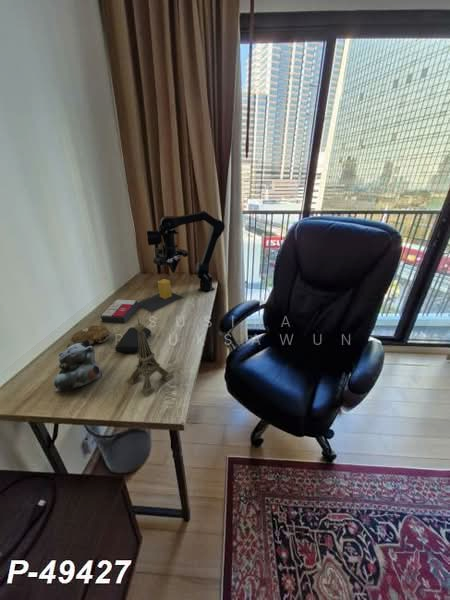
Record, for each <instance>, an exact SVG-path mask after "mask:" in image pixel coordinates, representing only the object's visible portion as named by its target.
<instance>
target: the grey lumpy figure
mask: <svg viewBox="0 0 450 600" xmlns="http://www.w3.org/2000/svg"><path fill="white" fill-rule="evenodd" d="M95 354H96V352H95V347H94V346H93V345H91V344H90V343H89V341H88V340H85V341H84V342H83V343H74V344H73V343H69V344H68V345H67V347H66V348H65V349H64V350H61V351H60V353H58V356H59V358H58V368H59V369H60V370H59V372H58V374H57V375H56V376H55V378H54V380H53V386H54V387H55V390H54V391H53V393H59V392H62V391H68V390H74V389H76V388H79V387H83V386H86V385H87V384H89V383H91V382H93V381H96V380H98V379H100V378H102V376H103V374H102V372H101V369H100V367H99V366H98V364H97V362H96V355H95Z"/></svg>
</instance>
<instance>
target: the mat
mask: <svg viewBox="0 0 450 600" xmlns="http://www.w3.org/2000/svg"><path fill="white" fill-rule="evenodd" d="M171 293H172V296H171V297H169V298H167V299H164V298H161V297H160V294H159V293H157V294H155V295H152V296H150V297H148V298H145V299H144V300H141V301H139V302H138V307H140V308H141V309H144V310H146V311H147V312H150V313H154V312H156V311H159V310H160V309H162V308H164V307H166V306H168V305H171V304H173V303H174V302H176V301H179V300H180V299H182V298H184V297H183V296H181V295H179V294H176V293H173V292H171Z"/></svg>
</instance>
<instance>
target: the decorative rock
mask: <svg viewBox="0 0 450 600" xmlns="http://www.w3.org/2000/svg"><path fill="white" fill-rule="evenodd" d="M110 336H111V333H110V330H109V329H108V328H107V326H105V325H97V324H91V325H89V326H87V327H84V328H82V329H80V330H78V331H76V332H75V333H74V334H73V335H72V336H71V337H70V341H71V342H72V344H73V343H74V344H77V343H83V342H84V341H85V340H88V341H89V343H90V345H93V344H94V343H100V344H101V343H105V342H107V341H108V340H109V337H110Z"/></svg>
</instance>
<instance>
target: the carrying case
mask: <svg viewBox="0 0 450 600" xmlns="http://www.w3.org/2000/svg"><path fill="white" fill-rule="evenodd" d="M135 327H136V326H135ZM135 327H129V328H128V329H127V330H126V332H125V333H124V335H123V336H122V337H121V338H120V340H119V341H118V342H117V343H116V345H115V347H114V350H115V351H116V352H118V353H129V354H130V353H131V354H135V353H139V343H138V330H137V329H135ZM143 331H144V333H145V336H146V339H147V340H148V338H149V337H152V330H151V329H150V328H148V327H145V328H143Z"/></svg>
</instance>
